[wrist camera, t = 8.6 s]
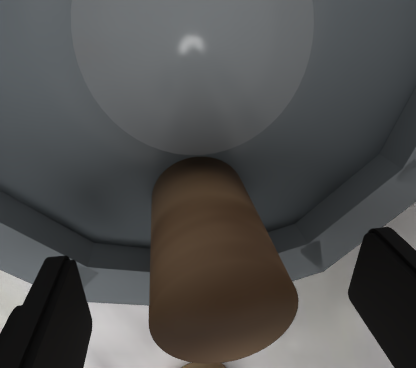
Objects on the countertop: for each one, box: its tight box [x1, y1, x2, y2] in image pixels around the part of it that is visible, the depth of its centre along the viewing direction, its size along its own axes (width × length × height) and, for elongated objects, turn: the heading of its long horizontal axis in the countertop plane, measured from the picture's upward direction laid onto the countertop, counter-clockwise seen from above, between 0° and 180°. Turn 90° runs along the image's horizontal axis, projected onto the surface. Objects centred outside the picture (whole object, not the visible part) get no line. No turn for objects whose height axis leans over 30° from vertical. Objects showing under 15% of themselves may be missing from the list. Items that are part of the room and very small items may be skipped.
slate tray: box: [0, 0, 416, 305], centre depth 10 cm, size 23×23×3 cm
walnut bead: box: [149, 157, 298, 364], centre depth 11 cm, size 4×4×6 cm
